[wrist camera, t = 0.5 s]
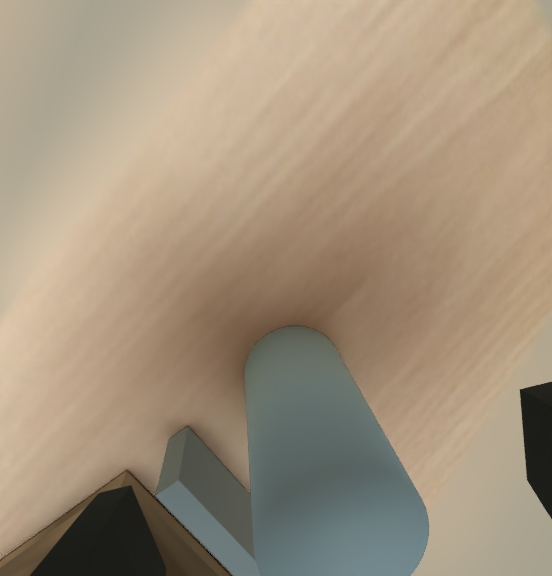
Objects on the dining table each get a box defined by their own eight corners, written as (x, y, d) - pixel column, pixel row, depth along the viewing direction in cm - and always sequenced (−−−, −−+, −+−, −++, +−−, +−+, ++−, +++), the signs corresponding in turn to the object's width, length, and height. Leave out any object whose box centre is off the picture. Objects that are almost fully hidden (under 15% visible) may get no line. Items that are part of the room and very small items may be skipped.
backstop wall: (281, 560, 22) (290, 634, 18) (168, 439, 20) (155, 496, 16) (299, 548, 22) (311, 619, 18) (187, 425, 20) (178, 479, 16)
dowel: (282, 434, 20) (320, 639, 11) (224, 365, 19) (216, 531, 10) (360, 379, 20) (460, 547, 11) (305, 306, 19) (367, 427, 10)
